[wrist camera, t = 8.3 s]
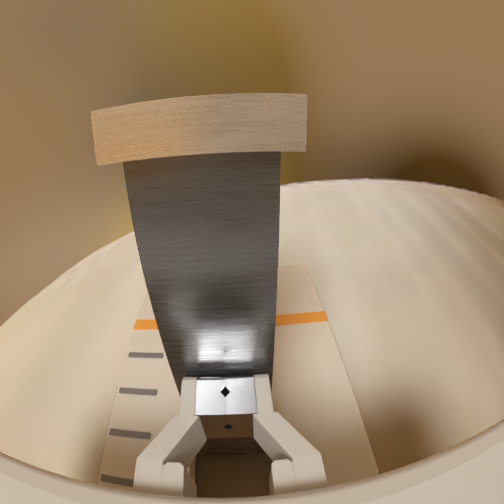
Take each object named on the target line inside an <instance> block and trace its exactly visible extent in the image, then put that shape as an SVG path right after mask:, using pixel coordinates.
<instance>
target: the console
mask: <svg viewBox="0 0 504 504" xmlns="http://www.w3.org/2000/svg"><path fill="white" fill-rule="evenodd" d="M272 401H273V408H274V412H279V413H280V414H281V415H282V416H283V417H284V418H285V419H286V420H287V421H288V422H289V423H290V424H291V425H292V426H293V427H294V428H295V429H296V430H297V431H298V432H299V433H300V434H301V435H302V436H303V437H304V438H305V439H306V440H307V441H308V442H309V443H310V444H311V445H312V446H313V447H314V448H315V449H317V450H318V451H319V452H320V453H321V457H322V461H323V466H324V470H325V475H326V480H327V484H328V487H329V486H334V485H339V484H343V483H348V482H352V481H356V480H360V479H364V478H367V477H371V476H375V475H378V474H379V471H378V467H377V464H376V461H375V457H374V454H373V451H372V448H371V445H370V441H369V438H368V435H367V432H366V429H365V426H364V423H363V420H362V417H361V414H360V411H359V408H358V405H357V402H356V399H355V396H354V393H353V390H352V387H351V384H350V382H349V379H348V376H347V373H346V370H345V367H344V365H343V362H342V359H341V356H340V354H339V351H338V348H337V345H336V343H335V340H334V337H333V335H332V332H331V329H330V327H329V324H328V319H327V317H326V314H325V312H324V311H323V308H322V306H321V303H320V300H319V298H318V295H317V293H316V290H315V288H314V285H313V282H312V280H311V277H310V275H309V272H308V270H307V267H306V266H295V267H278V276H277V301H276V322H275V342H274V361H273V378H272ZM179 406H180V395H179V392H178V389H177V386H176V383H175V381H174V378H173V375H172V372H171V369H170V366H169V363H168V360H167V356H166V353H165V350H164V347H163V344H162V340H161V337H160V334H159V330H158V327H157V323H156V320H155V316H154V312H153V309H152V305H151V301H150V297H149V294H148V290H147V292H146V295H145V298H144V301H143V304H142V307H141V310H140V313H139V316H138V319H137V320H136V323H135V326H134V332H133V335H132V338H131V342H130V345H129V349H128V352H127V355H126V359H125V362H124V366H123V370H122V373H121V377H120V381H119V384H118V388H117V392H116V396H115V400H114V404H113V408H112V412H111V417H110V421H109V425H108V430H107V435H106V439H105V444H104V449H103V454H102V459H101V465H100V470H99V476H98V482H97V485H102V486H107V487H112V488H117V489H122V490H128V491H133V484H134V475H135V467H136V460H137V457H138V456H139V455H140V454H141V453H142V452H143V451H144V450H145V448H146V447H147V446H148V445H149V444H150V443H151V442H152V441H153V439H154V438H155V437H156V436H157V435H158V434H159V433H160V432H161V430H162V429H163V428H164V427H165V426H166V425H167V424H168V422H169V421H170V420H171V419H172V418H173V417H174V416H175V415H179ZM195 459H196V457H195V458H194V460H193V461H192V463H191V464H190V466H189V467H188V469H187V472H188V473H189V475H190V476H191V478H192V479H193V481H194V482H195Z"/></svg>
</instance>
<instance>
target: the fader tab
mask: <svg viewBox="0 0 504 504" xmlns="http://www.w3.org/2000/svg"><path fill="white" fill-rule="evenodd" d="M91 120H92V128H93V138H94V146H95V153H96V159H97V165H104V164H111V163H118V162H123V165H124V173H125V180H126V186H127V192H128V199H129V205H130V210H131V216H132V221H133V227H134V232H135V237H136V242H137V246H138V251H139V256H140V260H141V265H142V269H143V273H144V277H145V282H146V286H147V290H148V294H149V297H150V301H151V305H152V309H153V312H154V316H155V320H156V323H157V327H158V330H159V334H160V337H161V340H162V344H163V347H164V350H165V353H166V356H167V360H168V363H169V366H170V369H171V372H172V375H173V378H174V381H175V383H176V386H177V389H178V392H179V395H181V385H182V380H183V377H226V376H238V375H252V374H253V375H257V374H268V375H269V380H270V387H271V394H272V378H273V361H274V342H275V322H276V301H277V276H278V247H279V212H280V158H281V157H280V155H281V151H306V128H307V124H306V123H307V94H288V93H287V94H286V93H238V94H215V95H201V96H188V97H179V98H169V99H161V100H153V101H146V102H139V103H133V104H127V105H121V106H116V107H111V108H106V109H101V110H96V111H91ZM201 451H202V453H203V454H233V453H254V452H265V451H264V450H263V449H262V447H261V446H260V445H259V444H258V442H257V441H256V440H255V439H254V437H228V438H207V440H206V442H205V443H204V445H203V446H202V448H201Z"/></svg>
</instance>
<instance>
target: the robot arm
mask: <svg viewBox="0 0 504 504" xmlns="http://www.w3.org/2000/svg"><path fill="white" fill-rule="evenodd" d="M228 437H254V439H255V440H256V441H257V442H258V444H259V445H260V446H261V447H262V449H263V450H264V451H265V452H266V454H267V455H268V456H269V457H270V458H271V460H272V461H273V463H272V464H271V471H270V479H269V488H270V495H267V496H253V497H230V498H205V497H197V485H196V484H195V482H194V481H193V479H192V478H191V476H190V475H189V473H188V472H187V469H188V467H189V466H190V464H191V463H192V461H193V460H194V458H195V457H196V455H197V454H198V452H199V451H200V449H201V448H202V446H203V445H204V443H205V442H206V440H207V438H228ZM0 504H504V419H503V420H501V421H500V422H498V423H496V424H495V425H493V426H491V427H489V428H488V429H486V430H484V431H482V432H480V433H478V434H477V435H475V436H473V437H471V438H469V439H467V440H465V441H463V442H461V443H459V444H457V445H455V446H452V447H450V448H448V449H446V450H444V451H441V452H439V453H437V454H434V455H432V456H429V457H427V458H424V459H422V460H419V461H417V462H414V463H411V464H409V465H406V466H403V467H400V468H397V469H394V470H391V471H388V472H385V473H381V474H378V475H375V476H371V477H367V478H364V479H360V480H356V481H352V482H348V483H343V484H339V485H334V486H329V487H328V484H327V480H326V475H325V470H324V466H323V461H322V457H321V453H320V452H319V451H318V450H317V449H315V448H314V447H313V446H312V445H311V444H310V443H309V442H308V441H307V440H306V439H305V438H304V437H303V436H302V435H301V434H300V433H299V432H298V431H297V430H296V429H295V428H294V427H293V426H292V425H291V424H290V423H289V422H288V421H287V420H286V419H285V418H284V417H283V416H282V415H281V414H280V413H279V412H274V408H273V401H272V394H271V387H270V380H269V375H268V374H257V375H253V374H252V375H238V376H226V377H183V380H182V385H181V395H180V406H179V415H175V416H174V417H173V418H172V419H171V420H170V421H169V422H168V424H167V425H166V426H165V427H164V428H163V429H162V430H161V432H160V433H159V434H158V435H157V436H156V437H155V438H154V439H153V441H152V442H151V443H150V444H149V445H148V446H147V447H146V448H145V450H144V451H143V452H142V453H141V454H140V455H139V456H138V457H137V460H136V467H135V475H134V484H133V491H128V490H122V489H117V488H112V487H107V486H102V485H97V484H93V483H89V482H85V481H81V480H77V479H73V478H70V477H66V476H63V475H60V474H56V473H53V472H50V471H47V470H44V469H41V468H38V467H36V466H33V465H30V464H28V463H25V462H22V461H20V460H17V459H15V458H13V457H10V456H8V455H6V454H3V453H1V452H0Z"/></svg>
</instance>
